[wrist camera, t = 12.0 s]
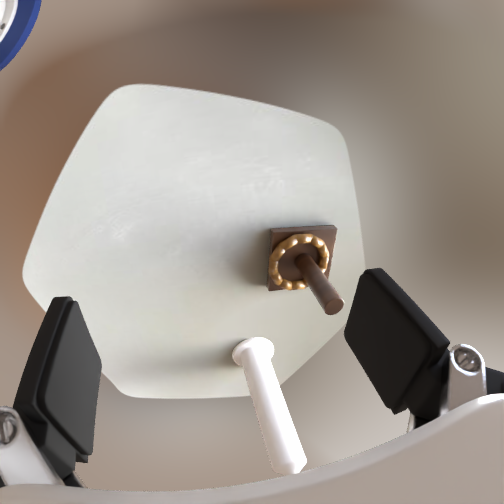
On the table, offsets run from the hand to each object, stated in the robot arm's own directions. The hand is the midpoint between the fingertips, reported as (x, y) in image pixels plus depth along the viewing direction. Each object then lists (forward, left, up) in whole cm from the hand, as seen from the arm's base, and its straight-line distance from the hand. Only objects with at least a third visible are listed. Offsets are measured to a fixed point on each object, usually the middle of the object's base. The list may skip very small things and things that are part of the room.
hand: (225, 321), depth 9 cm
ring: (+14, +13, -24) cm, 31 cm away
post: (+14, +14, -26) cm, 33 cm away
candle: (+32, +8, -26) cm, 42 cm away
